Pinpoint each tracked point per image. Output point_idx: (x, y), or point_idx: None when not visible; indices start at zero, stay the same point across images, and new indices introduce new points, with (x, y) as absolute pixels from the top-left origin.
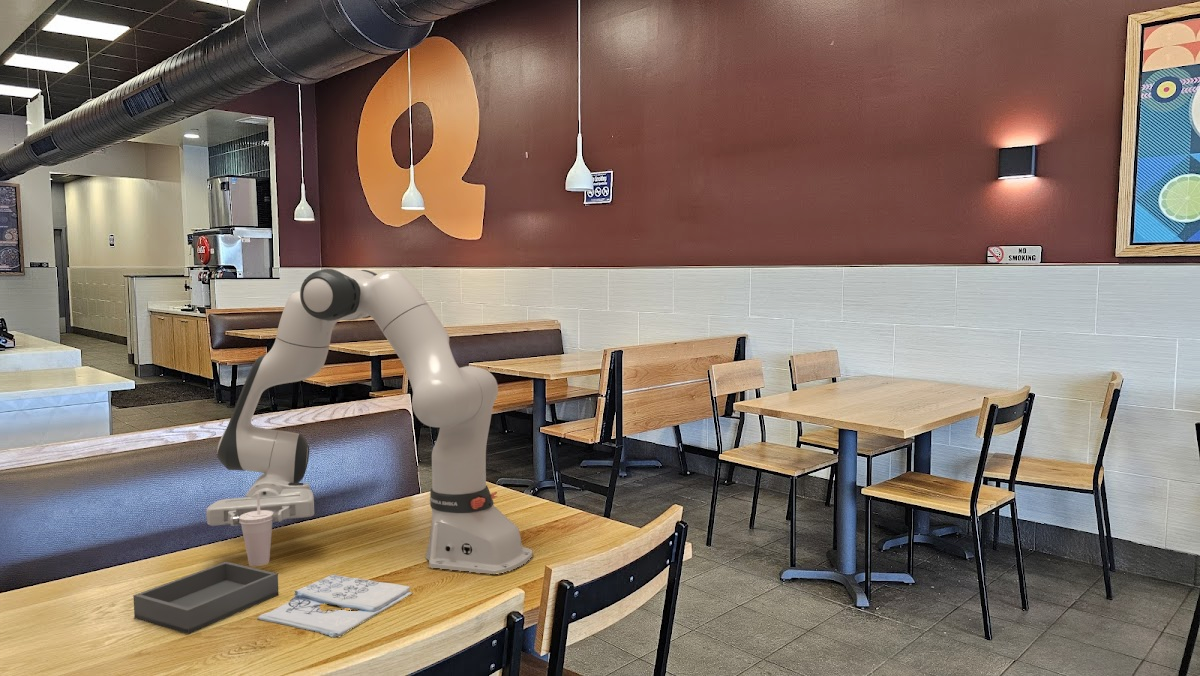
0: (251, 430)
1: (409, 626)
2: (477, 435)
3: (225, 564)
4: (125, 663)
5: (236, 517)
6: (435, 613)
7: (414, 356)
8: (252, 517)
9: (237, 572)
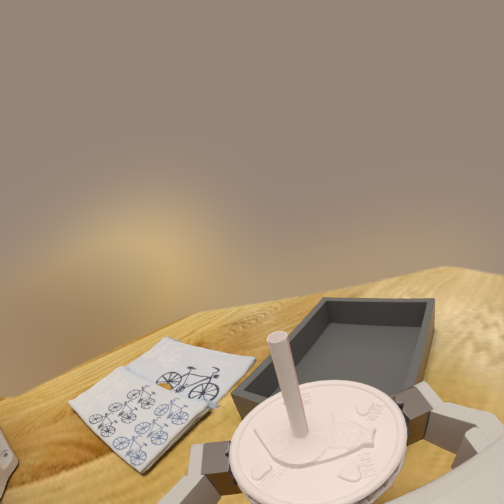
0: None
1: (108, 355)
2: None
3: None
4: (352, 288)
5: (400, 391)
6: (79, 370)
7: None
8: (321, 407)
9: None
